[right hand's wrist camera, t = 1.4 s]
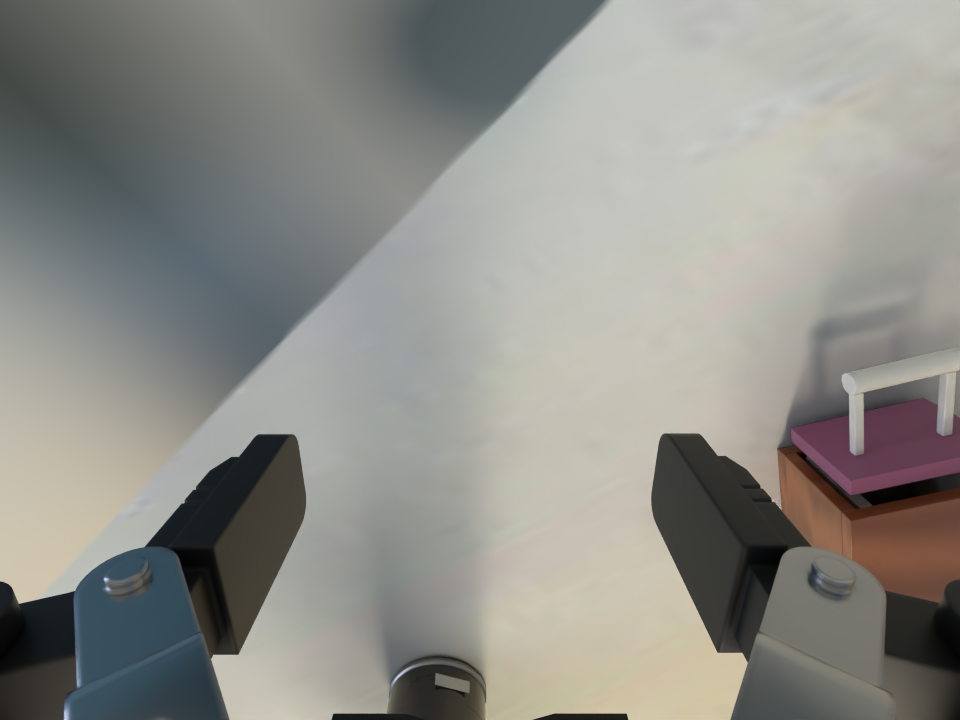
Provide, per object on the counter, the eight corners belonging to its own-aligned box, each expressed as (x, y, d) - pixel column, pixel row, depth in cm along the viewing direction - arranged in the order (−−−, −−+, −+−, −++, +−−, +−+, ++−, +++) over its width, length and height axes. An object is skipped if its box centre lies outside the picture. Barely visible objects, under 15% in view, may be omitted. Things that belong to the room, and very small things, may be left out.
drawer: (786, 355, 37) (849, 396, 31) (927, 321, 36) (1021, 356, 30) (798, 553, 44) (852, 621, 37) (917, 529, 43) (993, 594, 36)
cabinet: (777, 448, 41) (850, 520, 33) (920, 416, 40) (1033, 482, 32) (786, 577, 46) (852, 668, 38) (915, 551, 45) (1011, 639, 37)
